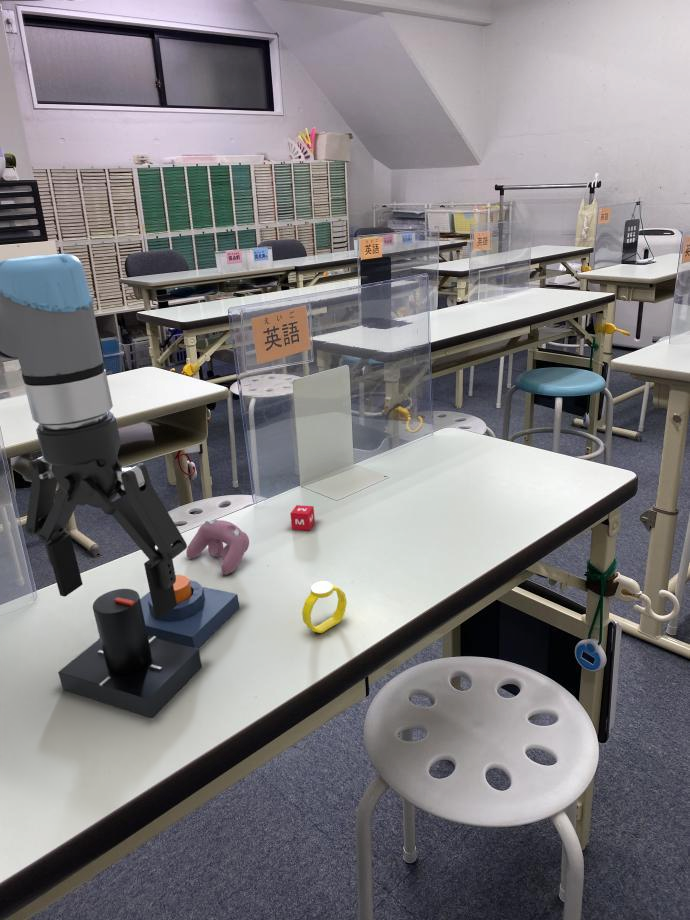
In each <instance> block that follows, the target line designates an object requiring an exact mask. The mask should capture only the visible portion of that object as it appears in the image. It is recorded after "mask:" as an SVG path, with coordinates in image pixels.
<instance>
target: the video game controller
mask: <svg viewBox="0 0 690 920" xmlns="http://www.w3.org/2000/svg"><path fill="white" fill-rule="evenodd" d="M224 544H226V545H225V546H224ZM249 546H250V538H249V536H248V534H247V533H246V532H244V531H242V529H241V528H240V527H239V526H238V525H236V524H234V523H233V522H231V521H227V520H223V519H222V520H221V519H211V520H205V521H204V523H203V524H201V525H200V527H199V529H198V530H197V532H196V533H195V535H194V536H193V538H192V540H190V542H189V544H188V545H187V548H186V550H185V551H186V557H187V558H188V559H190V560H193V559H194V558H197V557H198V556H199V555H200V554H201V553H203V551H204V550H205V549H206V548H207V547H208V554H209V555H210V556H213V557H220V556H221V560H222V564H221V567H220V568H221V569H220V570H221V573H222V574H223V575H227V576H228V575H229V574H231V573H232V572H234V571H235V570H236V569H237V568H238V566H239V565H240V563H241V561H242V560H243V557H244V555H245V553H246V552H247V551H248V549H249Z"/></svg>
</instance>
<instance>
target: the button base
mask: <svg viewBox="0 0 690 920" xmlns="http://www.w3.org/2000/svg"><path fill="white" fill-rule="evenodd" d="M189 580H190V579H189ZM190 586H191V592H192V595H191V597H190V598H188V599H187V600H185V601H183V602H180V603H177V606H175V607H174V608H173V609H172V610H171V611H170V612H169V613H167V614H166V615H165V616H164V617H163V618H162V619H159V618H155V614H154V609H153V604H152V599H151V595H150V591H148V592H147V593H146V594H144V595H143V596H142V597H140V601H141V606H142V611H143V616H144V620H145V625H146V630H147V635H148V636H149V637H153V636H156V639H160V640H164V641H168V642H172V643H176V644H180V645H184V646H188V647H192V648H195V649H199V648H201V647H202V646H203V645H204V644H205V643H206V641H208V639H210V638H211V637H212V635H214V633H216V632H217V631H218V630H219V629H220V628H221V627H222V625H224V624H225V623H226V622H227V621H228V620H229V619H230V618H231V617H232V616H233V615H234V614H235V613H236V612H237V611H238V610H239V609H240V601H239V595H238V593H236V592H229V591H225V590H220V589H216V588H211V587H206V586H203V585H201V584H200V582H199V581H197V580H190Z"/></svg>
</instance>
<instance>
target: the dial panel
mask: <svg viewBox="0 0 690 920" xmlns="http://www.w3.org/2000/svg"><path fill="white" fill-rule="evenodd" d="M148 640H149V645H150V649H151V659H150V661H149V662H148V663H147V664H146V665H145V666H144V667H142V668H141V669H139V670H137V671H134V672H131V673H127V674H115V673H112V672H110V671H109V670H108V669H107V666H106V662H105V657H104V653H103V649H102V645H101V641H100V638H98V639H97V640H96V641H95V642H93V643H91V645H90V646H89V647H87V648H86V649H85V650H84V651H82V652H81V653H80V654H78V655H77V656H76V657H75V658H73V659H72V660H71V661H70V662H69V663H67V664H66V665H65V666H63V667H62V668H60V670H58V671H57V672H58V673H57V674H58V677H59V681H60V685H61V688H62V690H63V691H66V692H69V693H72V694H75V695H79V696H81V697H84V698H88V699H92V700H94V701H97V702H101V703H104V704H106V705H111V706H113V707H117V708H120V709H123V710H126V711H128V712H129V711H130V712H133V713H136V714H139V715H141V716H144V717H147V718H151V719H153V717H155V716H156V715H157V713H159V712H160V711H161V710H162V708H163V707H164V706H165V705H166V704H167V703H168V702H169V701H170V700H171V699H172V698H173V697H174V696H175V695H176V694H177V693H178V692H179V691H180V690H181V689H182V688H183V687H184V686H185V685H186V684H187V683H188V681H190V680H191V678H193V677H194V675H196V673H197V672H198V671H199V670H200V669H201V668H202V667H203V664H202V659H201V655H200V654H201V653H200V649H199V648H198V649H195V648H192V647H188V646H184V645H180V644H176V643H172V642H168V641H164V640H160V639H156V636H153V637H149V636H148Z"/></svg>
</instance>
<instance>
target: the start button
mask: <svg viewBox="0 0 690 920" xmlns="http://www.w3.org/2000/svg"><path fill="white" fill-rule="evenodd" d="M175 575H176V582H175V583H174V584H173V587H174V592H175V597H176V602H177V603H180V602H183V601H185V600H187V599H188V598H190V597H191V595H192V592H191V586H190V578H189V577H188V576H187V575H184V574H175Z"/></svg>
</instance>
